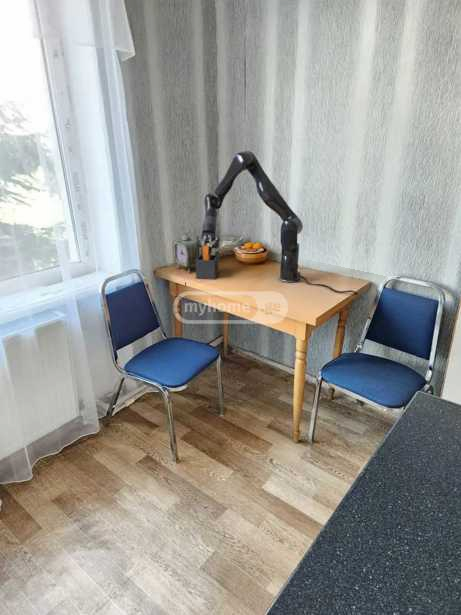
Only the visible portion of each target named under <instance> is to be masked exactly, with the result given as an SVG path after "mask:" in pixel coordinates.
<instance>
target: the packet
mask: <svg viewBox="0 0 461 615" xmlns="http://www.w3.org/2000/svg"><path fill="white" fill-rule="evenodd" d="M209 247H210V245H204V246H203V254H202V255H203V260H210V255H209V254H208V251H209Z"/></svg>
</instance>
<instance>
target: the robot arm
mask: <svg viewBox="0 0 461 615" xmlns="http://www.w3.org/2000/svg"><path fill="white" fill-rule="evenodd" d="M244 171H247V172H248V173H249V174H250V176H251V177H252V179H253V181H254V184H255V188H256V192H257V195H258V196H259V197H260V200H262V202H263V203H264V204H265V206H267V207H268V208H269V209H270V210H271V211H273V212H274V213H275V214H276V215H278V216H279V217H280V219H281V220H282V223H281V225H280V240H279V242H280V245H281V250H280V251H281V252H280V270H279V280H280V281H281V282H284V283H294V282H295V283H297V282H298V281H301V279H303V280H304V281H305V283H306V284H307V285H311V286H319V287H320V286H321V287H326V288H328V289H329V290H331V291H333V292H335V293H340V294H342V293H343V294H344V293H354V294H355V295H359V293H358V292H357V291H354V290H337V289H334V288H332V287H331V286H330V285H326V284H321V283H310V282H308V279H307V278H306V277H305V276H302V274H301V271H299V257H300V243H299V242H298V235H299V234H300V233H301V232H302V231H303V229H304V225H303V221H302V220H301V219H300V217H299V216H298V215H297V214H296V213H295V212H294V211H293V210H292V208H291V207H290V206H289V204H288V203H287V201H286V200H285V198H284V197H283V195H282V194H281V193H280V191H279V190H278V188H277V187H276V185H275V183H273V182H272V180H271V179H270V178H269V176H268V174H267V173H266V172H265V170H264V169H263V166H262V165H261V164H260V162H259V160H258V158H257V157H256V155H255V153H253V152H252V151H251V150H242V151H239V152H237V153H235V155H234V157H233V158H232V160H231V162H230V164H229V166H228V168H227V171H225V174H224V175H223V177H222V179H221V180H220V181H219V182H218V184H217V185H216V187H215V188H214V190H213V191H214V194H213V193H210V192H209V193H207V194H205V196H204V198H203V205H204V212H205V213H204V220H203V223H202V230H201V234H200V235H197V236H195V239H196V242H198V245H199V248H200V253H201V255H203V246H204V245H206V243H209V245H210V247H209V251H208V254H209V255H210V254H211V253H212V248H216V246H217V245H218V243H219V244H220V241H221V238H220V236H219V237H216V236H217V235H216V234H217V228H218V217H219V212H218V210H220V209H221V208H222V206H223V204H224V200H225V198H226V196H227V195H228V193H230V191H231V190H232V188H233V186H234V183H235V180H236V178H237V177H238V176H239V175H240V174H241V173H242V172H244ZM201 240H202V241H201ZM214 240H216V241H215V242H214V244H213V245H212V242H213V241H214Z"/></svg>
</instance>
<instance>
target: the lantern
mask: <svg viewBox="0 0 461 615" xmlns="http://www.w3.org/2000/svg"><path fill="white" fill-rule="evenodd" d="M216 237H219V238H220V236H218V235H216ZM215 241H216V240H214V241H213V242H212V245H213V244H214V242H215ZM206 245H209V243H206ZM210 255H218V261H219V260H220V242H219V243H218V245H217V246H216V248H212V253H211V254H210Z"/></svg>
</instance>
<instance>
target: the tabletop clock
mask: <svg viewBox="0 0 461 615" xmlns="http://www.w3.org/2000/svg"><path fill="white" fill-rule="evenodd" d="M183 229H185V230H187V232H186V231H184V232H183ZM180 231H181V234H182V236H180V239H175V240H173V241H172V256H173V257H172V258H173V261H174V263H175V264H177V266H176V269H180V268H181V267H184V268H187V267H188V270H187V273H188V274H190V273H191V269H192V266H194V265H195V266H196V259H197V257H198V256H199V255H200V247H199V245H198V242H197V240H193V239H191V237H190V236H189V234H190V231H189V229H188V227H185V226H182V227H181V228H180Z"/></svg>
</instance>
